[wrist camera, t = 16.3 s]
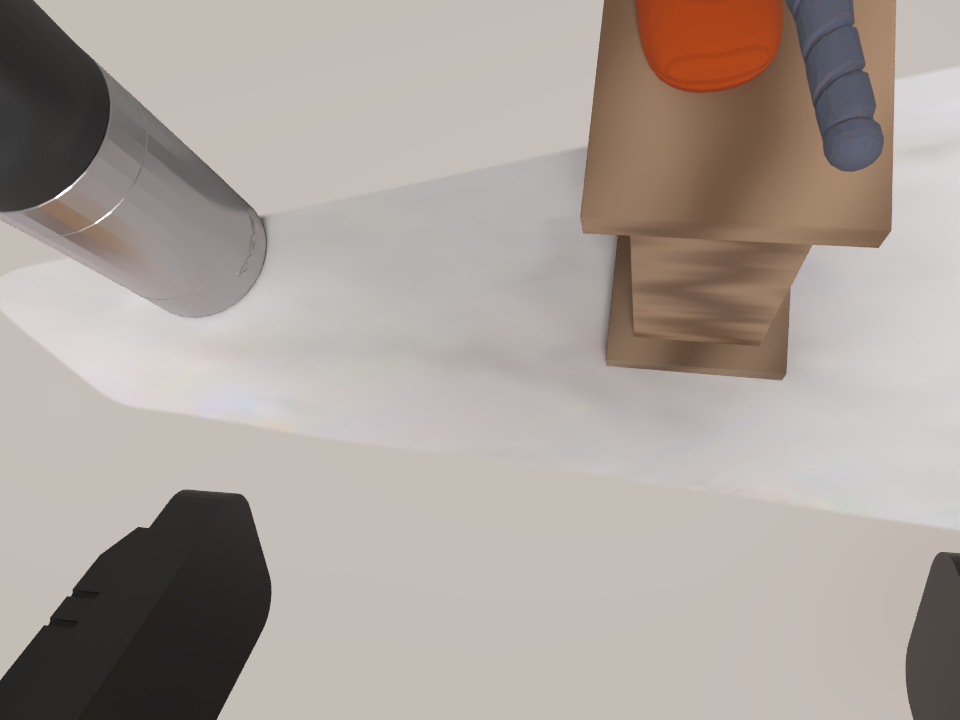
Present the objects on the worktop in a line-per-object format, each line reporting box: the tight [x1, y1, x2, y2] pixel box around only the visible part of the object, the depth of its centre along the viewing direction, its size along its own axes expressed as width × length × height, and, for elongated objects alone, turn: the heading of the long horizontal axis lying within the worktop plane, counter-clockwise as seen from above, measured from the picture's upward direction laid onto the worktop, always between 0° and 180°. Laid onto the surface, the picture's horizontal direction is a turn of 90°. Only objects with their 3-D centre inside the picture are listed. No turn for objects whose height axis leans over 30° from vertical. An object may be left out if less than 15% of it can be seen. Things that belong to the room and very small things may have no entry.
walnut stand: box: [580, 0, 896, 380], centre depth 39 cm, size 10×11×22 cm
